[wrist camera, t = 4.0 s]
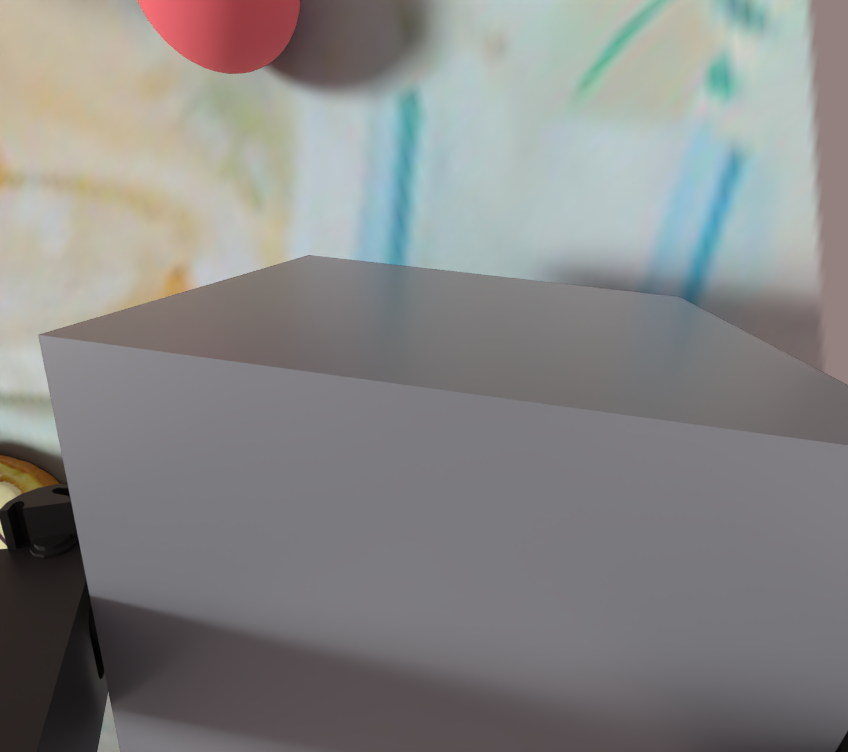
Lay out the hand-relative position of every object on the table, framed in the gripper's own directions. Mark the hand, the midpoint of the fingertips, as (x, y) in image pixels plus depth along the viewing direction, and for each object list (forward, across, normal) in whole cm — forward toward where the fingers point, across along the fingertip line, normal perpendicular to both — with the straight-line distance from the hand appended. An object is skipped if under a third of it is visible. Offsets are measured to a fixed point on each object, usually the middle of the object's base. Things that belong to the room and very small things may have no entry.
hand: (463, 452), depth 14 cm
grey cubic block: (+1, 0, 0) cm, 1 cm away
